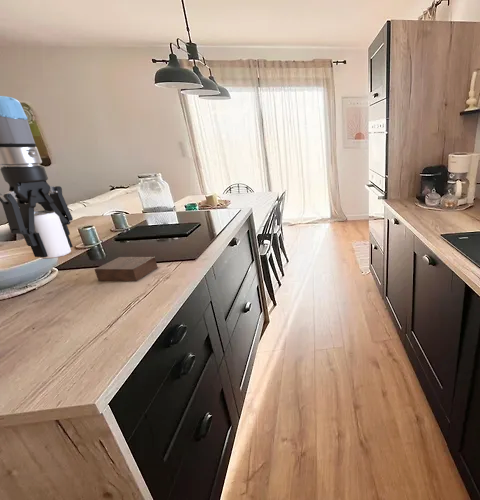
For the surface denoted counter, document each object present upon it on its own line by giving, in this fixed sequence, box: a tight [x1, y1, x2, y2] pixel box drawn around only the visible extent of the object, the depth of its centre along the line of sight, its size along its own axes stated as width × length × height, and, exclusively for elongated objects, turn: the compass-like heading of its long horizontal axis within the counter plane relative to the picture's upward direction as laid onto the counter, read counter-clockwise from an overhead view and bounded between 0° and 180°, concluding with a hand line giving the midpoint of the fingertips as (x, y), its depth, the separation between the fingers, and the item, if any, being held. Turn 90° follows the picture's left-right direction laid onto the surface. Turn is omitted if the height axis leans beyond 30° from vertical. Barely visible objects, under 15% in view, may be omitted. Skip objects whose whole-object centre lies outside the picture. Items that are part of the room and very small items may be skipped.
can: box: [34, 210, 72, 260], centre depth 78 cm, size 6×6×12 cm
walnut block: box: [94, 256, 159, 282], centre depth 92 cm, size 12×10×4 cm
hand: (54, 251), depth 79 cm, fingers closed on can, 6 cm apart
